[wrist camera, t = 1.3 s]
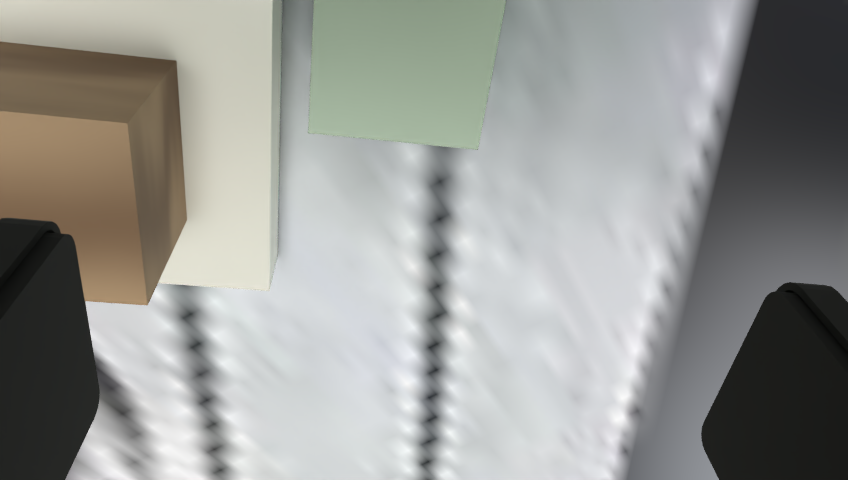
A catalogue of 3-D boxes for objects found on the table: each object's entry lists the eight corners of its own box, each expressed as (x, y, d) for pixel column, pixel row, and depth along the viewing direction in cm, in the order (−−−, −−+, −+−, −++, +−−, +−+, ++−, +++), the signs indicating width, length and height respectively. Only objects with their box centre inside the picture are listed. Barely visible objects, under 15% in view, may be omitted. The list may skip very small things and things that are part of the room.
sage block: (331, -86, 22) (316, -51, 17) (482, -66, 23) (511, -26, 18) (323, 64, 25) (308, 133, 20) (459, 79, 25) (477, 149, 20)
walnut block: (-23, 38, 21) (-125, 98, 17) (176, 60, 22) (127, 123, 18) (13, 205, 24) (-63, 291, 20) (187, 220, 25) (147, 305, 21)
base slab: (-107, -92, 21) (-161, -80, 19) (282, -42, 23) (272, -26, 21) (-22, 232, 28) (-56, 267, 26) (277, 255, 29) (269, 291, 27)
